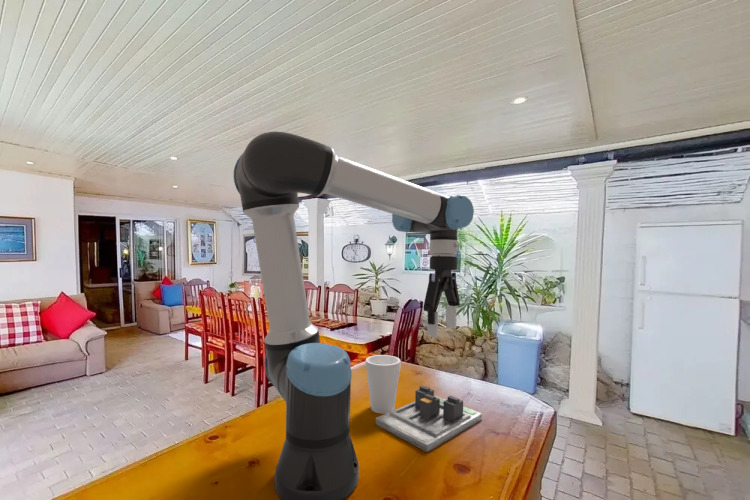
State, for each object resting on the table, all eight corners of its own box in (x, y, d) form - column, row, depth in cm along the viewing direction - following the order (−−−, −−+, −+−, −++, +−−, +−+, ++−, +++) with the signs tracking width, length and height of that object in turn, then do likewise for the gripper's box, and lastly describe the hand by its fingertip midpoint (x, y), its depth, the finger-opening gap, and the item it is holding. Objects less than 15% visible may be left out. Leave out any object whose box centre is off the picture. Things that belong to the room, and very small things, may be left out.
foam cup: (400, 402, 97) (401, 355, 97) (399, 417, 88) (400, 366, 88) (367, 400, 98) (367, 354, 98) (362, 415, 89) (363, 364, 89)
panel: (427, 452, 72) (427, 442, 72) (375, 424, 84) (375, 415, 84) (481, 419, 87) (482, 411, 87) (431, 399, 99) (431, 392, 99)
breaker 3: (453, 422, 82) (453, 402, 82) (443, 417, 84) (443, 398, 84) (463, 417, 85) (463, 397, 85) (452, 412, 87) (452, 393, 87)
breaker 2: (428, 420, 83) (428, 400, 83) (418, 416, 85) (419, 396, 85) (439, 415, 86) (439, 395, 86) (430, 411, 88) (430, 392, 88)
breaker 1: (424, 409, 89) (424, 390, 89) (415, 405, 91) (415, 387, 91) (433, 405, 91) (433, 387, 92) (424, 401, 94) (425, 383, 94)
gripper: (438, 255, 83) (437, 342, 83) (470, 256, 104) (469, 326, 104) (410, 254, 87) (409, 338, 87) (447, 256, 108) (446, 323, 108)
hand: (442, 332), depth 95 cm, fingers open, 13 cm apart
